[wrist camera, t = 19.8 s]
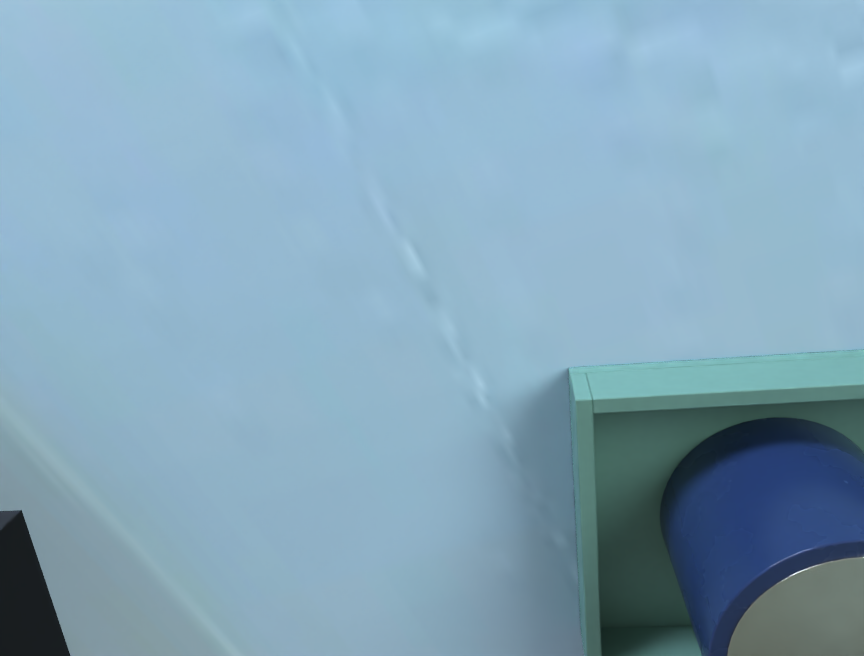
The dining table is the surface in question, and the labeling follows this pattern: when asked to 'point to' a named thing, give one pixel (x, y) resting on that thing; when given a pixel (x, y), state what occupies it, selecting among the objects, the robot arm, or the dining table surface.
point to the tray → (656, 461)
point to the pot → (770, 540)
